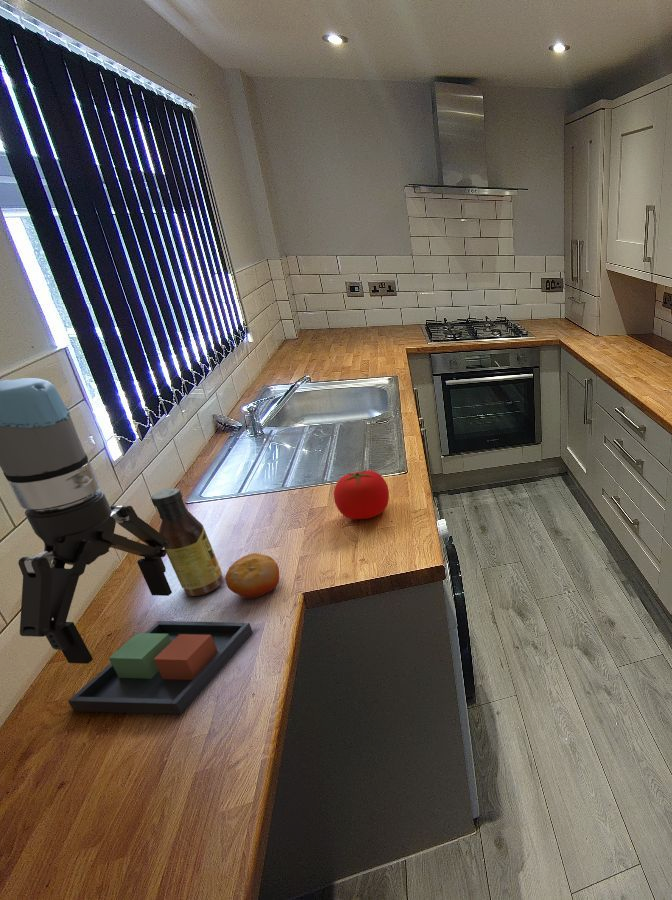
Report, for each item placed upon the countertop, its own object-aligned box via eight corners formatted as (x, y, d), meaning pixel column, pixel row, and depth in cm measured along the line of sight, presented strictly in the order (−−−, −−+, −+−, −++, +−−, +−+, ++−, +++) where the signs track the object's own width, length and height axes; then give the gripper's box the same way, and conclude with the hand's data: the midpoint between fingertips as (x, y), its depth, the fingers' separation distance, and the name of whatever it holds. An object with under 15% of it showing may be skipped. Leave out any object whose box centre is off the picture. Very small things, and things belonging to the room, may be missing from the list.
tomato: (389, 497, 128) (381, 458, 123) (395, 521, 118) (386, 479, 113) (339, 507, 123) (329, 467, 119) (340, 533, 113) (329, 491, 109)
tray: (73, 711, 73) (67, 701, 72) (162, 630, 88) (158, 620, 87) (181, 714, 73) (175, 704, 72) (253, 632, 87) (249, 622, 86)
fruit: (271, 561, 102) (267, 540, 97) (287, 594, 99) (284, 574, 94) (222, 580, 97) (216, 559, 91) (238, 615, 94) (232, 596, 89)
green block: (119, 678, 78) (108, 658, 76) (146, 652, 82) (137, 632, 81) (151, 678, 78) (141, 658, 76) (177, 653, 82) (168, 633, 80)
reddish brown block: (162, 679, 78) (153, 659, 76) (188, 653, 82) (179, 633, 80) (195, 680, 77) (186, 660, 76) (219, 654, 82) (211, 634, 80)
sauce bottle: (231, 583, 98) (196, 490, 90) (193, 602, 94) (153, 506, 85) (214, 571, 102) (179, 481, 93) (177, 589, 97) (136, 496, 89)
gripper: (-16, 557, 56) (66, 697, 65) (168, 458, 79) (210, 572, 88) (-82, 555, 57) (9, 695, 65) (120, 456, 79) (167, 570, 88)
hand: (124, 625), depth 77 cm, fingers open, 13 cm apart
